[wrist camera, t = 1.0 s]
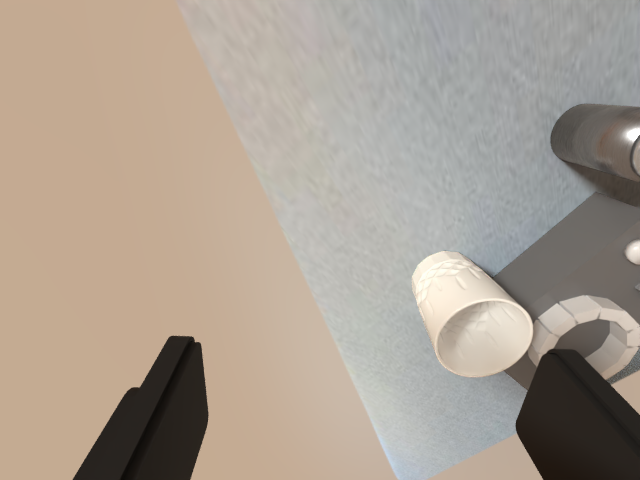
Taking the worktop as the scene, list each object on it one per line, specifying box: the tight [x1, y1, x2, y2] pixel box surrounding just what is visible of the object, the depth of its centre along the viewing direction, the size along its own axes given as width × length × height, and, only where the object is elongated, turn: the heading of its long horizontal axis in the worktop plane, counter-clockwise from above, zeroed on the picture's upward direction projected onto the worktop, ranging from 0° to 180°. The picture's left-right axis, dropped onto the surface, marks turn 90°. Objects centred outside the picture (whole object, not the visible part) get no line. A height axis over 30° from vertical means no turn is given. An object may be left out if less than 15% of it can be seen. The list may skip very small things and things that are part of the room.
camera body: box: [492, 192, 640, 390], centre depth 35 cm, size 18×12×8 cm, turn 139°
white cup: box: [412, 251, 533, 377], centre depth 33 cm, size 8×8×10 cm
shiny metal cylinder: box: [551, 104, 640, 182], centre depth 28 cm, size 5×5×9 cm
